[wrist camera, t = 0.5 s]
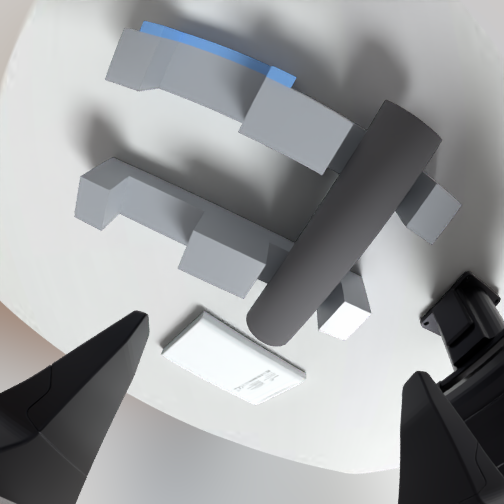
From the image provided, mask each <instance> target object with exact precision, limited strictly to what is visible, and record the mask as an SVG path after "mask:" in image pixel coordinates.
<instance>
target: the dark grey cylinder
mask: <svg viewBox="0 0 504 504" xmlns="http://www.w3.org/2000/svg"><path fill="white" fill-rule="evenodd" d="M441 141H442V139H441V138H440V137H439V135H438V134H437V133H435V132H434V131H433V130H432V129H431V128H430V127H429V126H427V125H426V124H425V123H424V122H422V121H421V120H420V119H418V118H417V117H415V116H414V115H413V114H411V113H410V112H408V111H406V110H405V109H403V108H402V107H400V106H398V105H396V104H394V103H392V102H390V101H388V100H385V102H384V103H383V105H382V107H381V108H380V110H379V112H378V113H377V115H376V117H375V118H374V120H373V122H372V123H371V125H370V126H369V128H368V130H367V131H366V133H365V135H364V136H363V138H362V139H361V141H360V143H359V144H358V146H357V148H356V149H355V151H354V152H353V154H352V156H351V157H350V159H349V160H348V162H347V164H346V165H345V167H344V168H343V170H342V171H341V173H340V175H339V176H338V178H337V179H336V181H335V182H334V184H333V186H332V187H331V189H330V190H329V192H328V193H327V195H326V197H325V198H324V200H323V201H322V203H321V204H320V206H319V207H318V209H317V210H316V212H315V214H314V215H313V217H312V218H311V220H310V221H309V223H308V224H307V226H306V227H305V229H304V230H303V232H302V233H301V235H300V236H299V238H298V239H297V241H296V242H295V244H294V245H293V247H292V248H291V250H290V251H289V253H288V254H287V256H286V257H285V259H284V260H283V262H282V263H281V265H280V266H279V268H278V269H277V271H276V272H275V274H274V275H273V277H272V278H271V280H270V281H269V283H268V284H267V286H266V287H265V289H264V290H263V291H262V293H261V294H260V296H259V297H258V299H257V300H256V302H255V303H254V305H253V306H252V307H251V309H250V310H249V312H248V314H247V317H246V321H247V325H248V328H249V330H250V331H251V333H252V334H253V335H254V336H255V337H256V338H257V339H258V340H260V341H261V342H263V343H265V344H267V345H270V346H282V345H285V344H286V343H287V342H288V341H289V340H290V339H291V338H292V337H293V336H294V335H295V334H296V332H297V331H298V330H299V329H300V328H301V327H302V326H303V325H304V324H305V322H306V321H307V320H308V319H309V318H310V317H311V316H312V314H313V313H314V312H315V311H316V310H317V309H318V308H319V306H320V305H321V304H322V303H323V302H324V301H325V299H326V298H327V297H328V296H329V295H330V293H331V292H332V291H333V290H334V289H335V287H336V286H337V285H338V284H339V283H340V281H341V280H342V279H343V278H344V276H345V275H346V274H347V273H348V272H349V270H350V269H351V268H352V267H353V265H354V264H355V263H356V262H357V260H358V259H359V258H360V256H361V255H362V254H363V253H364V251H365V250H366V249H367V247H368V246H369V245H370V244H371V242H372V241H373V240H374V238H375V237H376V236H377V234H378V233H379V232H380V230H381V229H382V228H383V226H384V225H385V224H386V222H387V221H388V220H389V218H390V217H391V215H392V214H393V213H394V211H395V210H396V209H397V207H398V206H399V204H400V203H401V202H402V200H403V199H404V197H405V196H406V194H407V193H408V192H409V190H410V189H411V187H412V186H413V184H414V183H415V181H416V180H417V178H418V177H419V175H420V174H421V172H422V171H423V169H424V168H425V166H426V165H427V163H428V162H429V160H430V159H431V157H432V156H433V154H434V153H435V151H436V149H437V148H438V146H439V145H440V143H441Z"/></svg>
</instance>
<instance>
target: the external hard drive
mask: <svg viewBox="0 0 504 504" xmlns="http://www.w3.org/2000/svg"><path fill="white" fill-rule="evenodd" d="M161 355H162V356H163V357H165V358H166V359H168V360H170V361H172V362H173V363H175V364H177V365H178V366H180V367H182V368H184V369H185V370H187V371H189V372H191V373H193V374H194V375H196V376H198V377H200V378H202V379H204V380H206V381H207V382H209V383H211V384H213V385H215V386H217V387H219V388H221V389H223V390H225V391H227V392H229V393H231V394H233V395H235V396H237V397H239V398H241V399H243V400H246V401H248V402H250V403H252V404H254V405H258V404H260V403H262V402H264V401H266V400H268V399H270V398H272V397H274V396H276V395H279V394H281V393H283V392H285V391H287V390H289V389H291V388H293V387H295V386H297V385H299V384H300V383H302V382H303V381H305V380H306V373H305V372H303V371H301V370H300V369H298V368H296V367H295V366H293V365H291V364H289V363H288V362H286V361H284V360H283V359H281V358H279V357H277V356H276V355H274V354H272V353H271V352H269V351H267V350H266V349H264V348H262V347H261V346H259V345H257V344H256V343H254V342H253V341H251V340H249V339H248V338H246V337H245V336H243V335H241V334H240V333H238V332H237V331H235V330H233V329H232V328H230V327H229V326H227V325H226V324H224V323H222V322H221V321H219V320H218V319H216V318H215V317H213V316H212V315H210V314H209V313H207V312H206V311H204V312H202V313H201V314H200V315H199V316H198V317H197V318H196V319H195V320H194V321H193V322H192V323H191V324H190V325H189V326H187V327H186V328H185V329H184V330H183V331H182V332H181V333H180V334H179V335H178V336H177V337H176V338H175V339H173V340H172V341H171V342H170V343H169V344H168V345H167V346H166V347H165V348H164V349H163V351H162V353H161Z"/></svg>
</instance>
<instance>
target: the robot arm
mask: <svg viewBox="0 0 504 504" xmlns="http://www.w3.org/2000/svg"><path fill="white" fill-rule="evenodd" d="M467 277H468V278H467ZM500 299H501V298H500V297H499V295H498V294H497V293H496V292H494V291H493V290H492V289H491V288H490V287H488V286H487V285H486V284H485V283H484V282H482V281H481V280H480V279H479V278H477V277H476V276H475V275H474V274H472V273H471V272H469V271H467V272H465V273H464V274H463V275H462V276H461V277H460V279H459V280H458V281H457V282H456V283H455V284H454V285H453V286H452V288H451V289H450V290H449V291H448V292H447V293H446V294H445V295H444V296H443V297H442V298H441V300H440V301H439V302H438V303H437V304H436V305H435V306H434V307H433V308H432V309H431V310H430V311H429V312H428V313H427V314H426V315H425V316H424V317H423V318H422V319H421V321H420V323H421V326H422V327H423V328H425V329H427V330H429V331H431V332H433V333H435V334H437V335H440V336H441V337H442V340H443V342H444V345H445V347H446V350H447V353H448V355H449V358H450V361H451V364H452V366H453V369H454V372H453V373H452V374H450V375H449V376H448V377H446V378H445V379H444V380H442V381H439V382H438V383H437V384H436V383H435V382H434V381H433V379H432V378H431V377H430V375H429V374H428V373H427V372H424V371H416V372H415V373H414V374H413V375H412V376H411V377H410V378H409V380H408V381H407V382H406V383H405V384H404V386H403V390H402V409H401V424H400V483H399V499H398V504H504V321H503V319H502V317H501V315H500V314H499V312H498V310H497V309H496V307H495V306H496V305H497V304H498V303H499V302H500ZM148 336H149V318H148V314H146V313H144V312H141V311H137V310H136V311H133V312H132V313H130V314H129V315H127V316H125V317H124V318H122V319H121V320H119V321H118V322H116V323H114V324H113V325H111V326H110V327H108V328H107V329H105V330H104V331H102V332H100V333H99V334H97V335H96V336H94V337H93V338H91V339H90V340H88V341H86V342H85V343H83V344H82V345H80V346H79V347H77V348H76V349H74V350H73V351H71V352H69V353H68V354H66V355H65V356H63V357H62V358H60V359H59V360H58V361H56V362H54V363H53V364H52V366H51V365H49V366H48V367H46V368H45V369H44V370H42V371H40V372H38V373H37V374H35V375H34V376H32V377H30V378H29V379H27V380H25V381H23V382H22V383H19V384H18V385H16V386H14V387H12V388H10V389H8V390H6V391H4V392H2V393H0V504H76V501H77V499H78V496H79V494H80V492H81V489H82V487H83V485H84V482H85V480H86V478H87V475H88V473H89V471H90V468H91V466H92V463H93V461H94V459H95V457H96V455H97V453H98V451H99V448H100V446H101V444H102V442H103V440H104V437H105V435H106V433H107V431H108V429H109V427H110V425H111V423H112V420H113V418H114V416H115V414H116V412H117V410H118V408H119V406H120V404H121V402H122V400H123V398H124V396H125V394H126V392H127V390H128V388H129V386H130V384H131V382H132V379H133V377H134V375H135V372H136V369H137V367H138V364H139V361H140V358H141V356H142V353H143V350H144V347H145V345H146V342H147V339H148Z"/></svg>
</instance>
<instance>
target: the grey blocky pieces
mask: <svg viewBox="0 0 504 504" xmlns="http://www.w3.org/2000/svg"><path fill="white" fill-rule="evenodd" d="M296 78H297V77H295V76H293V75H291V74H289V73H287V72H285V71H283V70H281V69H279V68H276V67H274V66H269V65H267V64H265V63H263V62H261V61H258V60H256V59H254V58H251V57H249V56H247V55H244V54H242V53H239V52H237V51H234V50H232V49H229V48H227V47H224V46H221V45H219V44H216V43H213V42H210V41H207V40H205V39H202V38H199V37H196V36H193V35H189V34H186V33H183V32H180V31H178V30H175V29H172V28H169V27H166V26H163V25H159V24H155V23H151V22H147V21H144V22H143V24H142V26H141V29H140V31H138V30H134V29H129V28H124V30H123V33H122V35H121V38H120V40H119V42H118V45H117V48H116V50H115V53H114V55H113V58H112V61H111V64H110V66H109V69H108V72H107V75H106V78H105V80H107V81H110V82H113V83H116V84H119V85H122V86H125V87H128V88H131V89H134V90H137V91H144V90H151V89H158V88H159V89H162V90H165V91H167V92H170V93H173V94H175V95H178V96H180V97H183V98H185V99H188V100H190V101H193V102H195V103H198V104H200V105H202V106H205V107H207V108H210V109H212V110H214V111H217V112H219V113H221V114H223V115H226V116H228V117H230V118H232V119H234V120H237V121H239V122H241V123H242V125H241V127H240V129H239V131H238V132H239V133H241V134H243V135H245V136H247V137H249V138H251V139H253V140H256V141H258V142H260V143H262V144H264V145H266V146H268V147H270V148H272V149H274V150H276V151H278V152H280V153H282V154H283V155H285V156H287V157H289V158H291V159H293V160H295V161H297V162H299V163H301V164H302V165H304V166H306V167H308V168H310V169H312V170H313V171H315V172H317V173H319V174H321V175H323V173H324V172H325V170H326V168H327V167H328V168H330V169H331V170H333V171H335V172H337V173H338V174H340V173H341V171H342V170H343V168H344V167H345V165H346V164H347V162H348V160H349V159H350V157H351V156H352V154H353V152H354V151H355V149H356V148H357V146H358V144H359V143H360V141H361V139H362V138H363V136H364V135H365V133H366V131H367V130H365V129H363V128H362V127H360V126H359V125H357V124H356V123H354V122H352V121H351V120H349V119H347V118H346V117H344V116H342V115H341V114H339V113H337V112H336V111H334V110H332V109H331V108H329V107H327V106H325V105H323V104H322V103H320V102H318V101H316V100H314V99H313V98H311V97H309V96H307V95H305V94H303V93H301V92H299V91H298V90H296V89H294V88H292V85H293V83H294V81H295V80H296ZM461 206H462V204H461V203H460V202H459V201H458V200H456V199H455V198H454V197H453V196H452V195H451V194H450V193H449V192H448V191H447V190H445V189H444V188H443V187H442V186H441V185H440V184H439V183H438V182H436V181H435V180H434V179H433V178H432V177H430V176H429V175H428V174H427V173H425V172H424V171H422V172H421V174H420V175H419V177H418V178H417V180H416V181H415V183H414V184H413V186H412V187H411V189H410V190H409V192H408V193H407V194H406V196H405V197H404V199H403V200H402V202H401V203H400V204H399V206H398V207H397V209H396V210H395V211H396V213H397V214H398V216H399V217H400V219H401V220H402V222H403V223H404V225H405V226H406V227H407V228H408V229H410V230H411V231H413V232H414V233H416V234H417V235H419V236H420V237H421V238H423V239H424V240H426V241H427V242H429V243H430V244H431V245H432V244H433V243H434V242H435V241H436V239H437V238H438V237H439V235H440V234H441V233H442V232H443V230H444V229H445V228H446V226H447V225H448V224H449V222H450V221H451V220H452V218H453V217H454V215H455V214H456V213H457V211H458V210H459V209H460V207H461ZM118 214H121V215H123V216H125V217H128V218H130V219H132V220H134V221H136V222H138V223H140V224H142V225H144V226H146V227H148V228H150V229H152V230H154V231H156V232H158V233H161V234H163V235H165V236H167V237H169V238H171V239H173V240H175V241H177V242H179V243H181V244H184V245H186V246H187V247H186V249H185V251H184V254H183V256H182V259H181V261H180V264H179V266H178V269H180V270H182V271H184V272H186V273H188V274H190V275H192V276H194V277H197V278H199V279H201V280H203V281H205V282H207V283H210V284H212V285H214V286H216V287H218V288H221V289H223V290H225V291H227V292H229V293H232V294H234V295H236V296H238V297H241V298H243V299H244V298H245V297H246V295H247V293H248V292H249V290H250V289H251V287H252V286H253V284H254V283H255V281H256V280H257V279H259V280H261V281H263V282H265V283H267V284H268V283H269V281H270V280H271V278H272V277H273V275H274V274H275V272H276V271H277V269H278V268H279V266H280V265H281V263H282V262H283V260H284V259H285V257H286V256H287V254H288V253H289V251H290V250H291V248H292V247H293V245H294V244H295V243H294V242H292V241H290V240H288V239H286V238H284V237H282V236H280V235H278V234H276V233H274V232H272V231H270V230H268V229H266V228H264V227H262V226H260V225H258V224H255V223H253V222H251V221H249V220H247V219H245V218H243V217H241V216H239V215H237V214H235V213H233V212H231V211H229V210H226V209H224V208H222V207H220V206H218V205H216V204H214V203H212V202H210V201H207V200H205V199H203V198H201V197H199V196H197V195H195V194H193V193H190V192H188V191H186V190H184V189H182V188H180V187H178V186H175V185H173V184H171V183H169V182H167V181H165V180H162V179H160V178H158V177H156V176H154V175H151V174H149V173H147V172H145V171H143V170H140V169H138V168H136V167H134V166H132V165H129V164H127V163H125V162H123V161H120V160H118V159H116V158H114V157H112V158H111V159H109V160H107V161H105V162H104V163H102V164H100V165H99V166H97V167H95V168H93V169H92V170H90V171H89V172H87V173H85V174H84V175H82V176H80V182H79V188H78V194H77V201H76V208H75V216H74V217H76V218H78V219H80V220H82V221H84V222H85V223H87V224H89V225H91V226H93V227H95V228H97V229H99V230H101V231H102V230H103V229H104V228H105V227H106V226H107V225H108V224H109V223H110V222H111V221H112V220H113V219H114V218H115V217H116V216H117V215H118ZM370 315H371V310H370V306H369V302H368V298H367V294H366V290H365V287H364V283H363V279H362V277H361V276H359V275H357V274H355V273H353V272H351V271H349V272H348V273H347V274H346V275H345V276H344V278H343V279H342V280H341V281H340V283H339V284H338V285H337V286H336V287H335V289H334V290H333V291H332V292H331V293H330V295H329V296H328V297H327V298H326V299H325V301H324V302H323V303H322V304H321V305H320V306H319V308H318V309H317V318H318V331H321V332H323V333H326V334H328V335H331V336H333V337H336V338H338V339H341V340H343V341H345V340H346V339H347V338H348V337H349V336H350V335H351V334H352V333H353V332H354V331H355V330H356V329H357V328H358V327H359V326H360V325H361V324H362V323H363V322H364V321H365V320H366V319H367V318H368V317H369V316H370Z"/></svg>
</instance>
